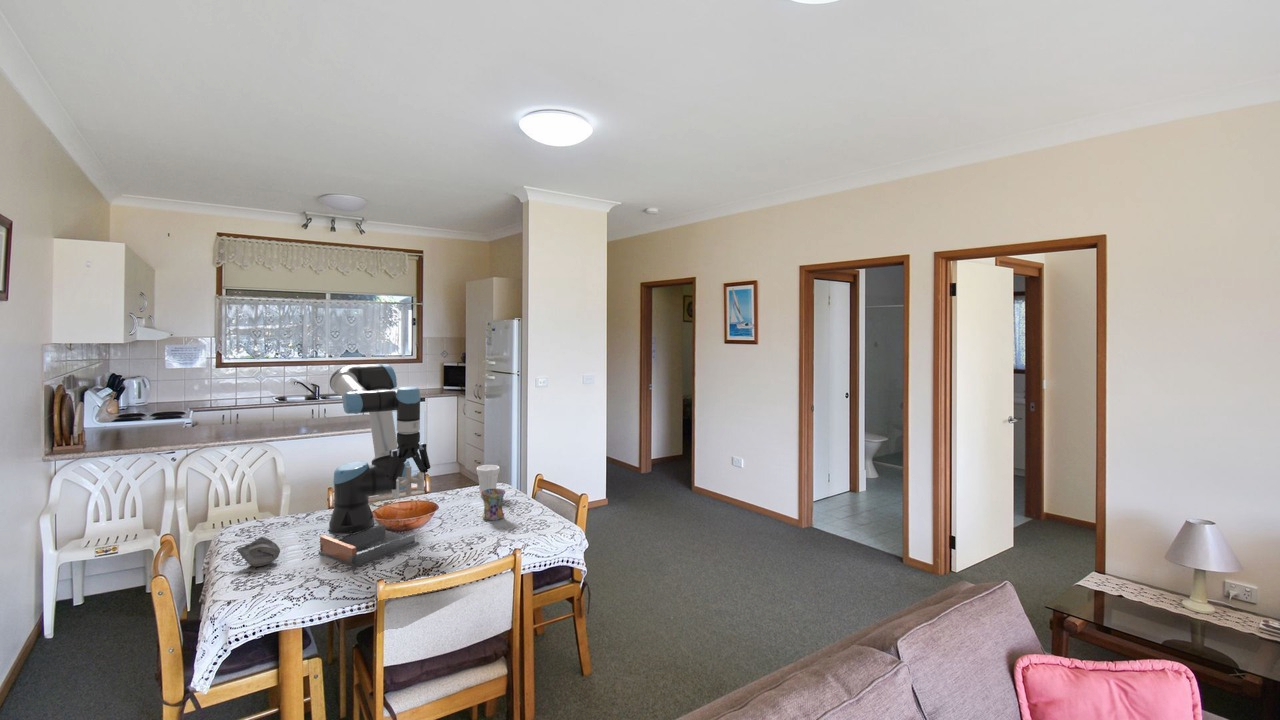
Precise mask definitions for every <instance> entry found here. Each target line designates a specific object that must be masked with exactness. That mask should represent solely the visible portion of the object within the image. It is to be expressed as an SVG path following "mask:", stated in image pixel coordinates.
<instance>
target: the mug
mask: <svg viewBox="0 0 1280 720" xmlns="http://www.w3.org/2000/svg"><path fill="white" fill-rule="evenodd" d="M481 494H482V497H481V498H482V499H483V505H484V509H483V512H482V516H481V518H482V519H483V520H486V521H498V520H500V519H502V518H505V517H504V516H505V514H504V511H503V499H504V496H505V494H506V490H505V489H503V488H497V487H496V488H494V489H486V490H483V491H482V492H481V493H480V495H481Z"/></svg>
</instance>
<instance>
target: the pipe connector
mask: <svg viewBox="0 0 1280 720" xmlns="http://www.w3.org/2000/svg"><path fill="white" fill-rule="evenodd" d="M397 480H399V482H400V483H399V487H400V488H401V487H404V486H405V485H406V489H405V496H411V495H412V484H414V485H415V484H416V485H417V484H422V483H423V479H418V475H417V473H415V474H412V465H410V466H406V478H405V477H398V478H397Z"/></svg>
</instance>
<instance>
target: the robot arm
mask: <svg viewBox="0 0 1280 720" xmlns="http://www.w3.org/2000/svg"><path fill="white" fill-rule="evenodd" d="M395 372H396V371H395V370H394V368H393V367H392V365H390V364H387V363H386V364H385V363H376V364H375V363H372V364H371V363H370V364H348V365H343V366H342V367H340V368H338V369H337V370H335V371H334V372H333V373H332V375H331V376H330V379H329V387H330V389H331V390H332V392H333V393H334V394H336V395H339V396H341V397H342V406H343V411H344V412H345V414H348V415H349V414H351V415H352V414H355V415H357V414H366V413H368V417H369V422H370V429H371V437H372V444H373V451H374V457H373V459H371V464H369V463H368V462H367V461H353V462H349V463H345V464H343V465H341V466H339V467H337V468H336V469H335V470H334V472H333V480H332V483H333V507H334V508H333V510H332V514H331V517H330V519H329V522H328V523H329V524H328V525H329V527H328V528H329V531H331V532H333V533H338V534H339V533H341V534H347V533H350V534H351V533H356V532H359V531H362V530H366V529H369V528H372V526H373V527H374V524H375V517H374V513H373V512H372V508H371V507H370V503H369V501H370V500H369V497H374V496H380V495H388V494H391V498H393V499H396V500H398V499H400V492H403V491H406V485H405V486H404V487H401V488H400V487H399V483H400V482H399V480H397V478H398V477H405V478H406V466H411V464H410V461H409V459H410V458H411V459H412V460H413V461H414V463H415V465H416V467H417V468H418V471H417V473H416V474H417V475H418V479H423V483H422V484H416V485H417V490H418V491H421V492H422V491H425V481H426V474H427V473H428V472H429V470H430V469H431V465H430V464H431V463H430V459H429V455H428V451H427V445H428V444H426V443H423V442H421V432H420V430H421V399H422V397H421V391H420V388H418V387H416V386H402V387H397V386H398V382H397V381H398V379H397V376H396V373H395ZM393 411H396V428H395V421H394V415H393ZM396 432H397V433H396Z"/></svg>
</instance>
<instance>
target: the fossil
mask: <svg viewBox="0 0 1280 720" xmlns="http://www.w3.org/2000/svg"><path fill="white" fill-rule="evenodd" d="M237 552H238V553H239V554H240V556H241V558H242V559H244V560H245V562H246V563H247V564H248V565H250V566H252V567H262V566H263V567H264V566H267V565H269V564H272V563H273V562H275V561H276V560H277V559H278V558H279V556H280V554H281V553H280V552H281V549H280V547H279V545H278V544H277V543H276V542H275V541H272V540H271V539H270V538H268V537H266V536H259V537H258V538H256V539H255V540H253V541H251V542H250V543H248V544H246V545H244V546H241V547H238V548H237Z"/></svg>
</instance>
